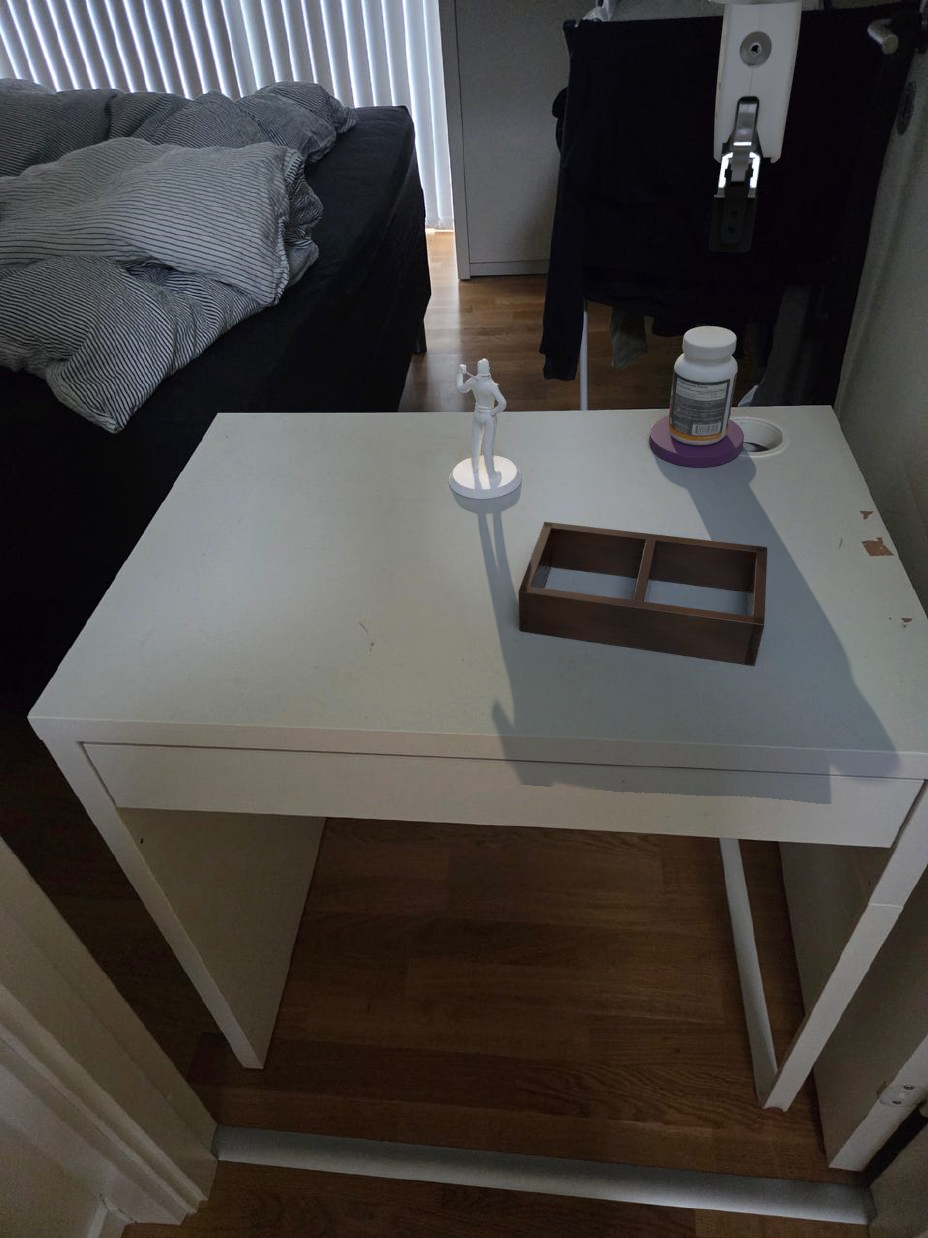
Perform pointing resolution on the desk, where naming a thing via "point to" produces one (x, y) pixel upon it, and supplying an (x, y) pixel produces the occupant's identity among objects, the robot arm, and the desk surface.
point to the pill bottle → (703, 386)
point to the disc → (695, 447)
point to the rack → (646, 592)
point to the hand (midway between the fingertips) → (732, 231)
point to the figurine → (485, 471)
